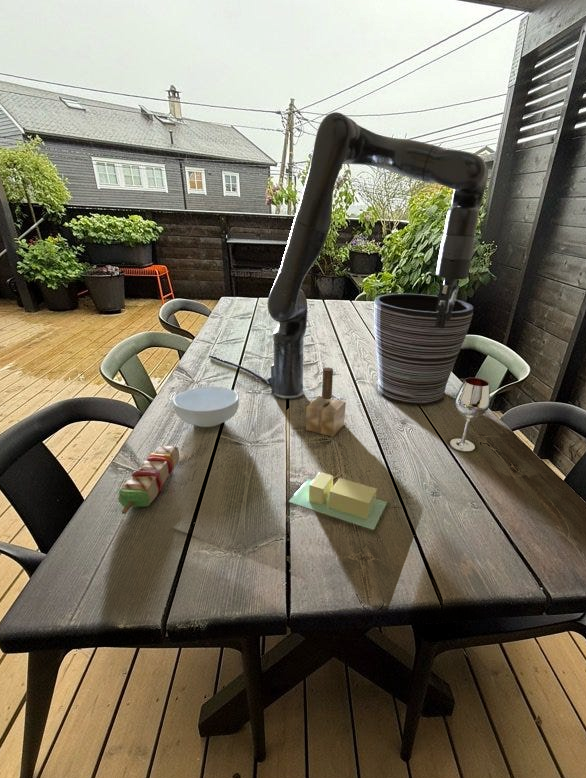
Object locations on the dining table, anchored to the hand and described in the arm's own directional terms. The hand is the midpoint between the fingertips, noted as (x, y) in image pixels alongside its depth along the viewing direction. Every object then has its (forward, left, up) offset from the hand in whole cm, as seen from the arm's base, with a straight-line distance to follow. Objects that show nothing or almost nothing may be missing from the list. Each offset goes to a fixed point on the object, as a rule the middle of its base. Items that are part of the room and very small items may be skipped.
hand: (442, 324), depth 101 cm
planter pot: (-10, +22, -29) cm, 38 cm away
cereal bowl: (-55, -27, -29) cm, 68 cm away
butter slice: (-13, -44, -28) cm, 54 cm away
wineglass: (+11, -7, -29) cm, 32 cm away
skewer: (-46, -57, -29) cm, 78 cm away
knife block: (-25, -15, -29) cm, 41 cm away
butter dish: (-9, -44, -29) cm, 53 cm away
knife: (-25, -15, -29) cm, 41 cm away
